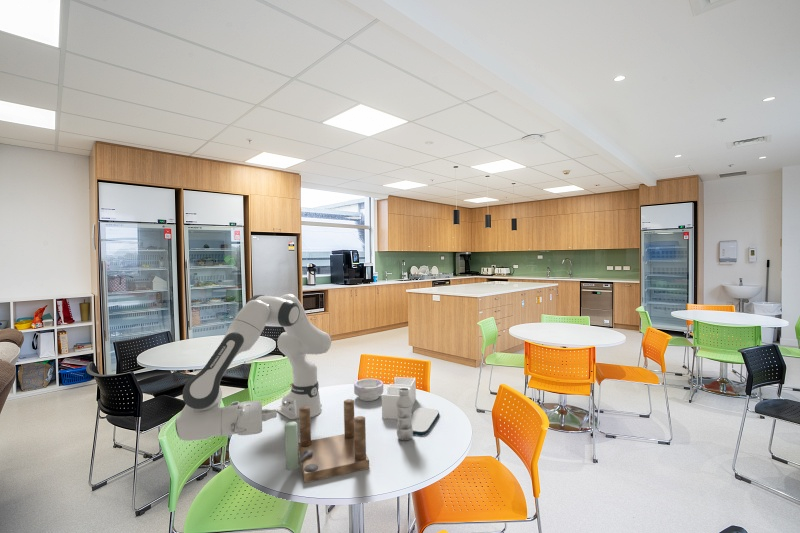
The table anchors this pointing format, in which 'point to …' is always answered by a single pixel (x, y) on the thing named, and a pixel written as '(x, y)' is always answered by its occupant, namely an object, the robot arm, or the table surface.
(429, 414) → the external hard drive
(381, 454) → the table surface
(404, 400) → the plastic bottle
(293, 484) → the table surface
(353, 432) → the stool
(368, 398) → the light grey bowl
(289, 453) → the green piece
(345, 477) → the table surface
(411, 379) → the storage container
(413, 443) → the table surface
